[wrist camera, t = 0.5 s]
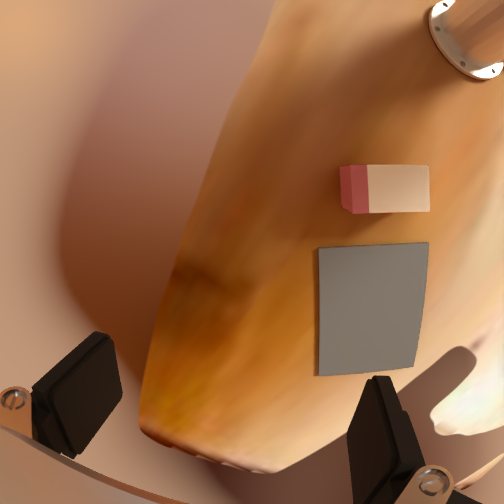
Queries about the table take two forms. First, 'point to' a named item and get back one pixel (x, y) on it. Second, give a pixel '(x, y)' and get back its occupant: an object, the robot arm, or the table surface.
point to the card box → (385, 188)
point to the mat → (370, 306)
